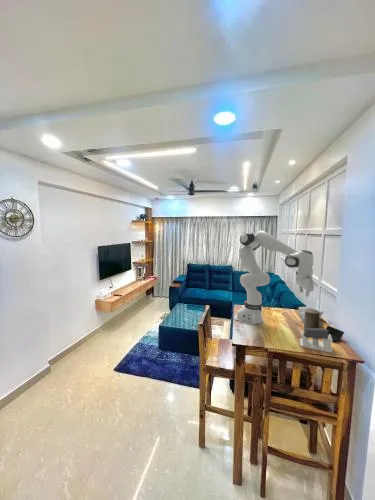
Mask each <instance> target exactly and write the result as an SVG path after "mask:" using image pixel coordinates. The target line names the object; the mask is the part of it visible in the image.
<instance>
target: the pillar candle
mask: <svg viewBox="0 0 375 500" xmlns="http://www.w3.org/2000/svg"><path fill="white" fill-rule="evenodd" d="M314 309H315V308H313V309H305V315H304V323H303V329H304V328H320V325H319V320H320V318H319V315H320V312H319V311H320V310H317V309H316V310H314Z"/></svg>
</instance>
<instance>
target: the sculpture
mask: <svg viewBox="0 0 375 500" xmlns="http://www.w3.org/2000/svg"><path fill="white" fill-rule="evenodd" d="M297 309H298V315H299V318H300V320H301V321H302V323H303V324H304V315H305V309H314V310H317V309H315V308H313V307H310V306H298V308H297ZM318 311H319V312H320V315H319V326H321V327H324V324H323V323H322V322H321V320H320V318H321V317H322V315H323V314H324V309H321V310H318Z"/></svg>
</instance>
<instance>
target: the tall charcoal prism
mask: <svg viewBox="0 0 375 500" xmlns="http://www.w3.org/2000/svg"><path fill="white" fill-rule="evenodd" d="M303 332H304V336H305V337H306V338H309V339H310V338H311V339H313V338H318V339H323V338H326V339H328V330H327V329H326V328H320V327H319V328H304V327H303Z"/></svg>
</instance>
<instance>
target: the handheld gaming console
mask: <svg viewBox="0 0 375 500" xmlns="http://www.w3.org/2000/svg"><path fill="white" fill-rule="evenodd" d="M325 329H327V330H328V336H329V334H330V335H331V338H332V342H339V341H341V339H342V337H343V335H344V334H345V331H343V330H341V329H338V328H336V327H333V326H330V325H327V326H326V328H325Z"/></svg>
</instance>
